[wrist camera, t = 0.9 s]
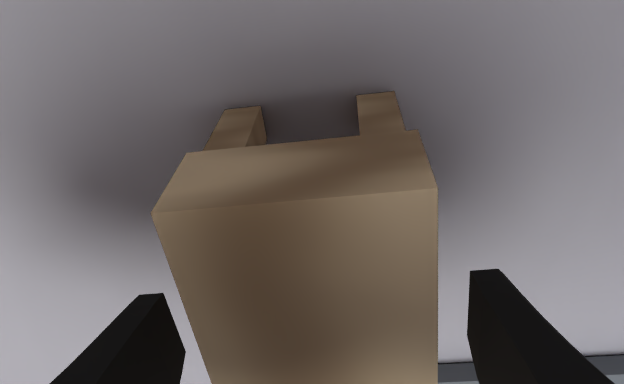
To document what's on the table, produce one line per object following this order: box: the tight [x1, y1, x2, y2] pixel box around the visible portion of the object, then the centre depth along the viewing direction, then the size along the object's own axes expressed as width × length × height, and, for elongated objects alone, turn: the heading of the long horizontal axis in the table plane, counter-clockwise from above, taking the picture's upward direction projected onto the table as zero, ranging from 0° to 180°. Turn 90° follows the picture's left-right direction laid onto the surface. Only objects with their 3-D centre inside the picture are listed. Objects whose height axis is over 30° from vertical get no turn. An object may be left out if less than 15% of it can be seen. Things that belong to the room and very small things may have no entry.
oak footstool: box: [151, 91, 438, 384], centre depth 13 cm, size 5×8×5 cm, turn 8°
